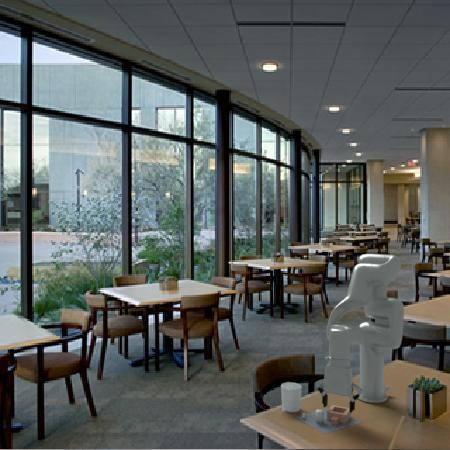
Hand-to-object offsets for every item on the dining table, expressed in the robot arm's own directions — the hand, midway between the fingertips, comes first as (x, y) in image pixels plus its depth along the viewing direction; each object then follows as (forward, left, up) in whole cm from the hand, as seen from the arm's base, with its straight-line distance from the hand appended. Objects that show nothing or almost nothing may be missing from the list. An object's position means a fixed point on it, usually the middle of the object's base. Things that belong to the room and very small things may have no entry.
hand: (338, 408), depth 174 cm
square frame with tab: (+1, +1, -4) cm, 4 cm away
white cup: (+9, -16, -5) cm, 19 cm away
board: (+4, -1, -5) cm, 6 cm away
